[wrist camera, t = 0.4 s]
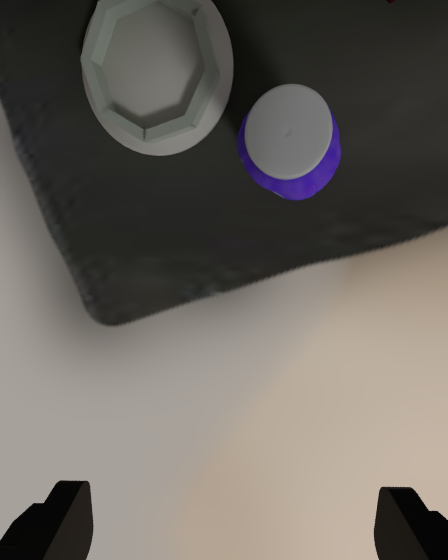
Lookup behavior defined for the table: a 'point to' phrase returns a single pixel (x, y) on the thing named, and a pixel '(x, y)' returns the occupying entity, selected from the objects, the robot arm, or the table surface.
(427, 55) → the table surface
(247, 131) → the bottle
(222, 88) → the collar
